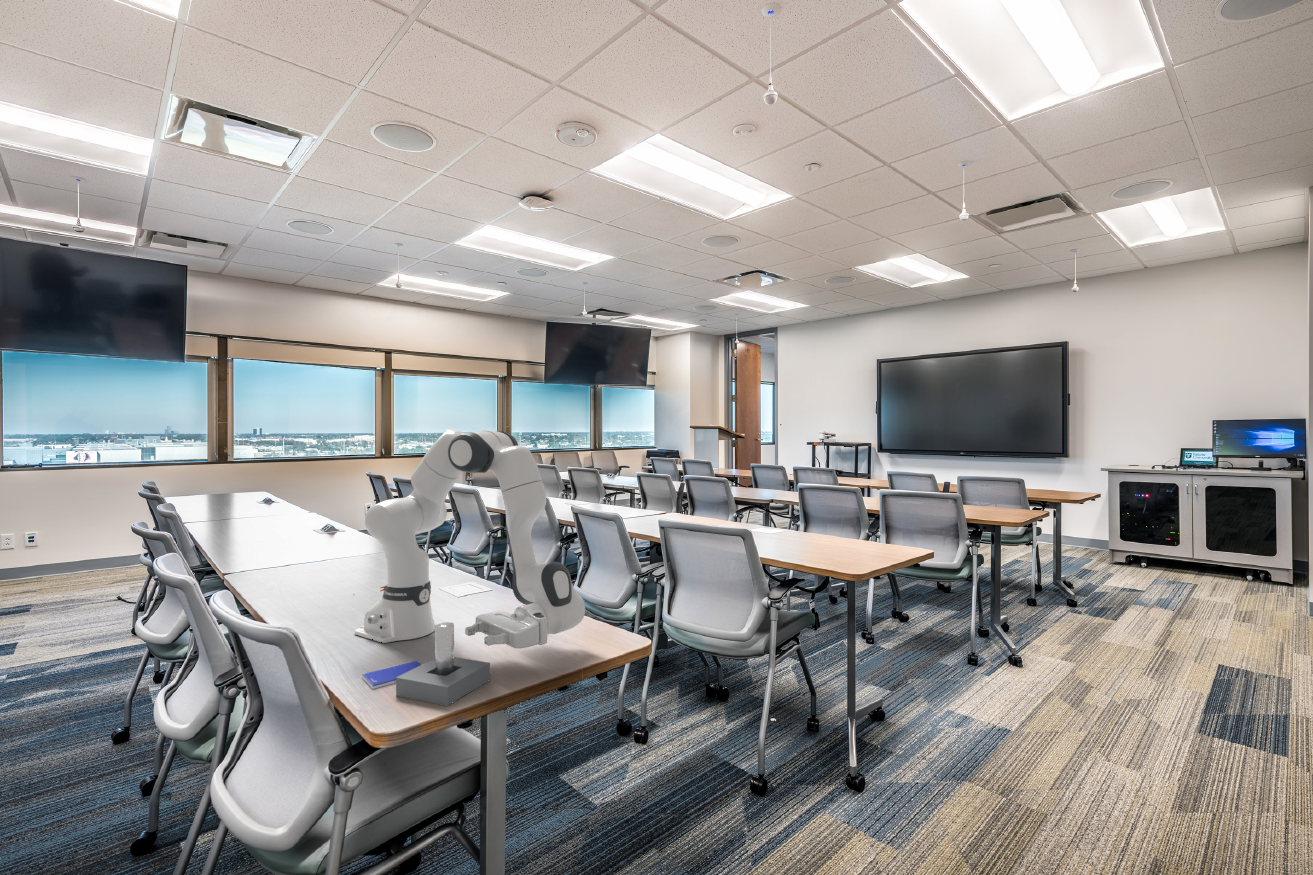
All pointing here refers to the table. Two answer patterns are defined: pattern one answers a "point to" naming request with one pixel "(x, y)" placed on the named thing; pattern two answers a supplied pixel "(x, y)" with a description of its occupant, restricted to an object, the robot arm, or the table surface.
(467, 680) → the socket base
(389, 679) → the hard drive
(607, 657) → the table surface
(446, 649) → the post
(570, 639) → the table surface
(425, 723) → the table surface
